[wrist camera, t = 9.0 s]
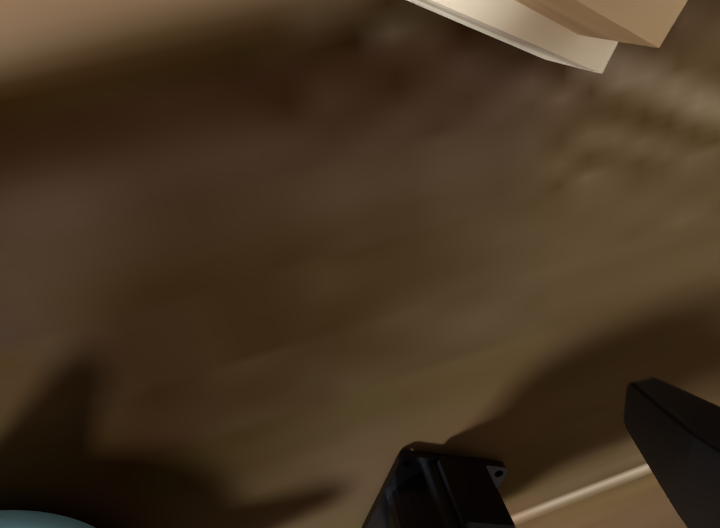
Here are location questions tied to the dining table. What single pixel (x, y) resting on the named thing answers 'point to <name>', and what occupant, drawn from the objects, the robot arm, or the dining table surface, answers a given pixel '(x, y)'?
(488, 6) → the birch base block
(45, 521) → the teapot
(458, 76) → the dining table surface
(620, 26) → the oak top block
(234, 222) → the dining table surface
